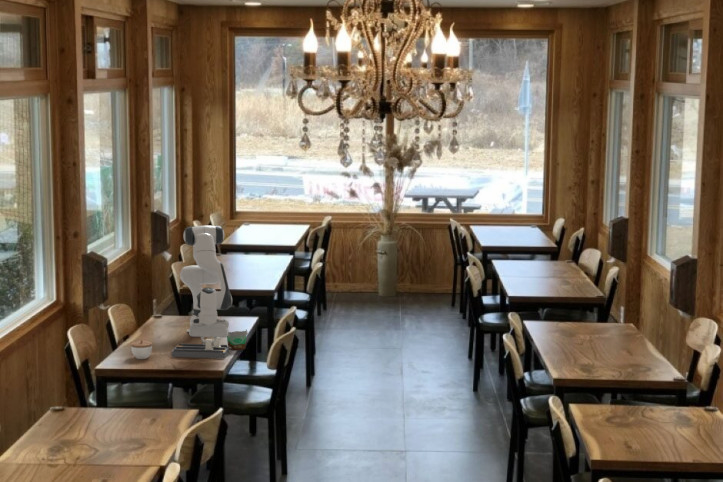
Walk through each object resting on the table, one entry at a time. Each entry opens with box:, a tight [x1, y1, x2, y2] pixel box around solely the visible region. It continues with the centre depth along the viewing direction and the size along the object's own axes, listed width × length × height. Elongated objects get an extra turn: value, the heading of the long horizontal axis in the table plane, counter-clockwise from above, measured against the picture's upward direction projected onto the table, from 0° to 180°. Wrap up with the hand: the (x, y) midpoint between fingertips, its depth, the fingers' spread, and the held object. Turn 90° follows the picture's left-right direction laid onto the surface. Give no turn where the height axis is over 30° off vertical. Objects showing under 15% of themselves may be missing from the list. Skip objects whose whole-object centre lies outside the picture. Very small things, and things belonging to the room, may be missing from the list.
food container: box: [226, 328, 249, 352], centre depth 575 cm, size 12×6×10 cm, turn 117°
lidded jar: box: [130, 339, 153, 360], centre depth 555 cm, size 11×11×9 cm
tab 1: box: [204, 338, 213, 350], centre depth 560 cm, size 3×4×6 cm
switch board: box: [171, 343, 230, 359], centre depth 564 cm, size 13×28×4 cm, turn 87°
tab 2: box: [212, 337, 221, 347], centre depth 566 cm, size 3×4×6 cm
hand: (208, 344), depth 560 cm, fingers closed on tab 1, 3 cm apart
